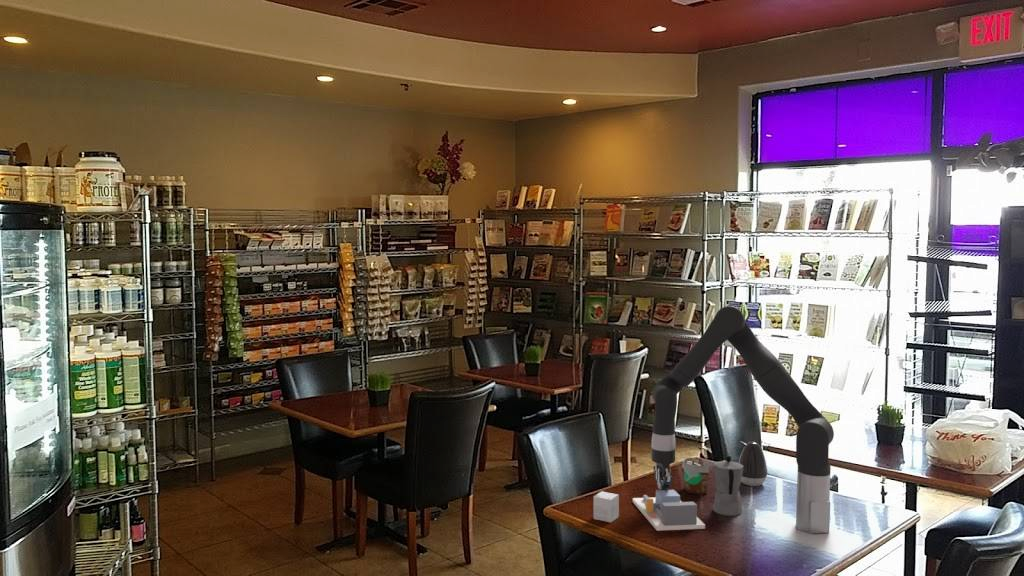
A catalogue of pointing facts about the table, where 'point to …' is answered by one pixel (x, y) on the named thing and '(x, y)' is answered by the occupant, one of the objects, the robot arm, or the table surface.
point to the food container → (695, 476)
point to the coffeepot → (728, 487)
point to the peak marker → (649, 505)
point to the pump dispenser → (753, 464)
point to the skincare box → (606, 506)
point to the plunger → (665, 497)
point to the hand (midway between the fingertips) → (662, 499)
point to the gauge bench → (658, 522)
